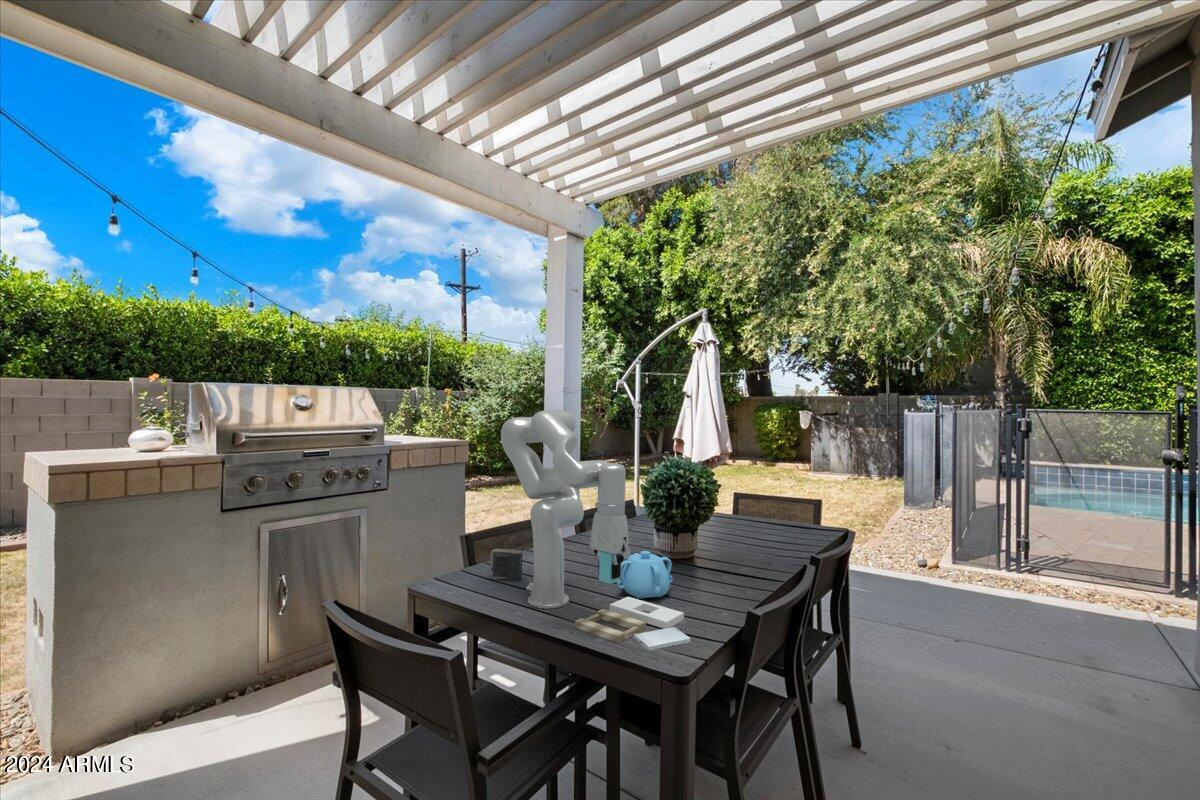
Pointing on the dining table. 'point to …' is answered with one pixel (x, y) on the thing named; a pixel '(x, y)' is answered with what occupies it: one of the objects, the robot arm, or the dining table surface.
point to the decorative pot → (645, 575)
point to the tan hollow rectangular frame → (609, 633)
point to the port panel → (657, 616)
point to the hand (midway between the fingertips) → (609, 575)
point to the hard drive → (661, 638)
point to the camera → (506, 564)
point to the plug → (606, 567)
